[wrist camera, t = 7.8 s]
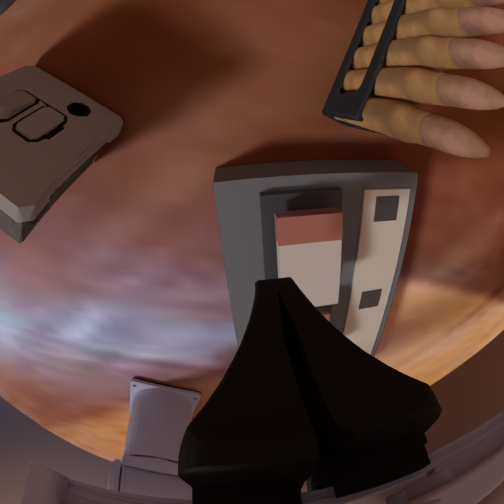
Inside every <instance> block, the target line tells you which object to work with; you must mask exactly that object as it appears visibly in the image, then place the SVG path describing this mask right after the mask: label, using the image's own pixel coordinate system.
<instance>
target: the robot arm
mask: <svg viewBox="0 0 504 504" xmlns="http://www.w3.org/2000/svg"><path fill="white" fill-rule="evenodd" d="M200 398H201V393H199V392H195V391H189V390H184V389H179V388H174V387H169V386H164V385H159V384H155V383H151V382H146V381H142V380H138V379H131V384H130V418H129V424H128V430H127V436H126V443H125V450H124V455H123V459H122V464H121V460H118V459H116V460H115V461H113V462H111V463H110V469H109V470H110V471H109V477H108V485H107V489H106V488H101V487H97V486H93V485H89V484H85V483H81V482H78V481H75V480H71V479H68V477H66V476H64V475H62V474H61V473H59V472H57V471H55V470H52V469H49V468H47V467H44V466H41V465H38V464H36V463H33V462H29V466H28V470H27V475H26V480H25V485H24V491H23V496H22V503H21V504H344V503H348V502H351V501H355V500H358V499H361V498H365V497H368V496H371V495H374V494H377V493H380V492H383V491H386V490H388V489H391V488H394V487H396V486H399V485H401V484H404V483H406V482H409V481H411V480H414V479H416V478H418V477H420V476H423V475H425V474H427V473H428V474H427V475H426V477H425V478H424V479H422V480H420V481H419V482H416V483H414V484H412V485H410V486H407V487H406V488H404V489H403V490H401V491H399V492H397V493H395V494H393V495H391V496H389V497H387V498H386V503H387V504H476V503H478V502H479V501H480V500H481V499H483V498H484V497H485V496H486V495H487V494H489V493H490V492H491V491H492V490H493V489H495V488H496V487H497V486H498V485H499V484H500V483H501V482H502V481H504V411H503V412H501V413H500V414H499V415H497V416H495V417H494V418H492V419H491V420H490V421H488V422H486V423H485V424H483V425H482V426H480V427H478V428H477V429H475V430H473V431H472V432H470V433H468V434H467V435H465V436H463V437H461V438H459V439H457V440H455V441H454V442H452V443H450V444H448V445H446V446H444V447H442V448H440V449H438V450H436V451H434V452H432V453H430V454H427V451H426V449H425V446H424V445H425V444H426V443H427V438H426V436H425V434H424V433H425V432H426V431H427V430H428V428H430V426H431V425H432V424H433V423H434V422H435V421H436V420H437V419H438V418H439V416H440V414H441V410H442V409H441V407H440V405H439V403H438V400H437V398H436V396H435V394H434V393H433V391H432V390H431V388H430V386H429V385H428V384H426V383H424V382H421V381H419V380H417V379H414V378H412V377H410V376H407V375H405V374H403V373H401V372H399V371H397V370H395V369H393V368H392V367H390V366H388V365H386V364H384V363H383V362H381V361H380V360H378V359H376V358H375V357H373V356H372V355H370V354H369V353H367V352H365V351H364V350H363V349H361V348H360V347H359V346H357V345H356V344H355V343H353V342H352V341H351V340H350V339H348V338H347V337H346V336H345V335H343V334H342V333H341V332H340V331H339V330H338V329H337V328H336V327H335V326H333V325H332V324H331V323H330V322H329V321H328V320H327V319H326V318H325V317H324V316H323V315H322V314H321V313H320V311H319V310H318V309H317V308H316V307H315V306H314V305H313V304H312V303H311V302H310V300H309V299H308V298H307V297H306V296H305V294H304V293H303V292H302V291H301V290H300V288H299V287H298V286H297V284H296V283H295V282H294V280H293V279H292V278H291V277H285V278H276V279H266V280H258V281H257V282H255V297H254V302H253V307H252V311H251V315H250V319H249V322H248V325H247V328H246V331H245V333H244V336H243V339H242V341H241V344H240V346H239V348H238V351H237V353H236V355H235V357H234V359H233V361H232V363H231V365H230V367H229V368H228V370H227V372H226V374H225V376H224V377H223V379H222V381H221V382H220V384H219V385H218V387H217V388H216V390H215V391H214V393H213V394H212V396H211V397H210V399H209V400H208V401H207V403H206V404H205V405H204V407H203V408H202V409H201V410H200V412H199V413H198V414H197V415H196V416H195V418H194V419H193V420H192V415H193V413H194V411H195V409H196V407H197V405H198V402H199V400H200ZM305 480H306V483H307V490H308V492H303V493H301V488H302V486H303V484H304V482H305Z"/></svg>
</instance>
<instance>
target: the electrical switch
mask: <svg viewBox="0 0 504 504" xmlns="http://www.w3.org/2000/svg"><path fill="white" fill-rule="evenodd" d="M122 125H123V120H122V118H121V117H120V116H119V115H117V114H115V113H114V112H112V111H111V110H109V109H107V108H106V107H104V106H102V105H101V104H99V103H97V102H96V101H94V100H93V99H91V98H89V97H88V96H86V95H84V94H83V93H81V92H79V91H78V90H76V89H74V88H72V87H71V86H69V85H67V84H66V83H64V82H62V81H60V80H59V79H57V78H55V77H54V76H52V75H50V74H48V73H46V72H45V71H43V70H41V69H39V68H38V67H35V66H24V67H22V68H19V69H17V70H15V71H12V72H10V73H8V74H6V75H3V76H1V77H0V229H2V230H3V231H4V232H5V233H7V234H8V235H9V236H11V237H12V238H13V239H15V240H16V241H17V242H18V243H21V229H22V242H23V241H24V240H25V238H26V237H27V236H28V234H29V233H30V232H31V231H32V229H33V228H34V227H35V226H36V224H37V223H38V222H39V221H40V219H41V218H42V217H43V216H44V215H45V213H46V212H47V211H48V210H49V209H50V208H51V206H52V205H53V204H54V203H55V202H56V201H57V200H58V198H59V197H60V196H61V195H62V194H63V193H64V192H65V191H66V190H67V189H68V188H69V187H70V185H71V184H72V183H73V182H74V181H75V180H76V179H77V178H78V177H79V176H80V175H81V174H82V173H83V172H84V171H85V170H86V169H87V168H88V167H89V166H90V165H91V164H92V162H93V160H94V157H95V154H96V153H97V152H98V150H99V148H100V147H102V146H103V145H104V144H105V143H106V142H109V143H110V142H111V141H112V140H113V139H115V138H116V137H117V136H118V135H119V133H120V130H121V128H122ZM77 174H78V175H77ZM4 225H6V227H5V226H4Z"/></svg>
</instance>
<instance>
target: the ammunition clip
mask: <svg viewBox="0 0 504 504" xmlns="http://www.w3.org/2000/svg"><path fill="white" fill-rule="evenodd" d="M500 4H504V0H368V2H367V4H366V7H365V9H364V12H363V14H362V17H361V19H360V22H359V24H358V26H357V29H356V31H355V34H354V36H353V39H352V41H351V43H350V46H349V48H348V51H347V53H346V55H345V58H344V60H343V63H342V65H341V67H340V70H339V72H338V75H337V77H336V79H335V82H334V84H333V87H332V89H331V91H330V94H329V96H328V99H327V101H326V103H325V106H324V108H323V110H322V113H323V115H325V116H327V117H329V118H331V119H333V120H335V121H337V122H339V123H342V124H344V125H346V126H349V127H354V128H358V129H362V130H366V131H370V132H374V133H378V134H382V135H386V136H389V137H392V138H395V139H397V140H400V141H403V142H406V143H418V144H421V145H424V146H427V147H432V148H434V149H437V150H439V151H442V152H445V153H448V154H452V155H456V156H461V157H468V158H484V157H489V156H490V155H491V153H492V151H491V149H490V147H489V146H488V145H487V143H486V142H485V141H484V140H483V139H482V138H481V137H480V136H478V135H477V134H476V133H475V132H473V131H472V130H470V129H469V128H467V127H465V126H464V125H462V124H460V123H458V122H456V121H454V120H451V119H449V118H446V117H443V116H440V115H436V114H434V113H432V112H429V111H426V110H422V109H421V108H419V107H417V106H415V105H421V106H431V105H442V106H452V107H457V108H463V109H472V110H494V109H499V108H502V107H504V95H503V94H502V93H501V92H500V91H498V90H497V89H495V88H494V87H492V86H490V85H488V84H486V83H484V82H481V81H479V80H476V79H473V78H469V77H465V76H461V75H454V74H448V73H443V72H442V71H446V70H450V69H495V68H501V67H504V46H502V45H499V44H496V43H493V42H490V41H486V40H482V39H475V38H462V37H472V36H481V35H493V34H500V33H504V10H502V9H498V8H492V7H485V6H495V5H500ZM413 104H415V105H413Z"/></svg>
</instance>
